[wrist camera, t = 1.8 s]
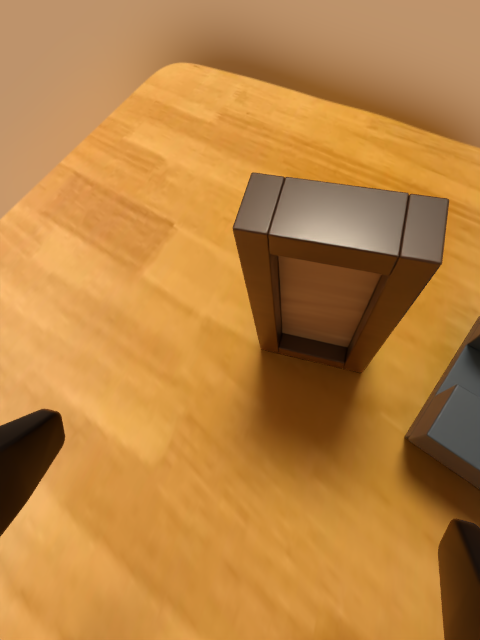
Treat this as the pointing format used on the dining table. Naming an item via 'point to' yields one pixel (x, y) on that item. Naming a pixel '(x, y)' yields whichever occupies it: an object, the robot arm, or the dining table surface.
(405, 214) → the frame
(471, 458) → the holder
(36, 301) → the dining table surface
